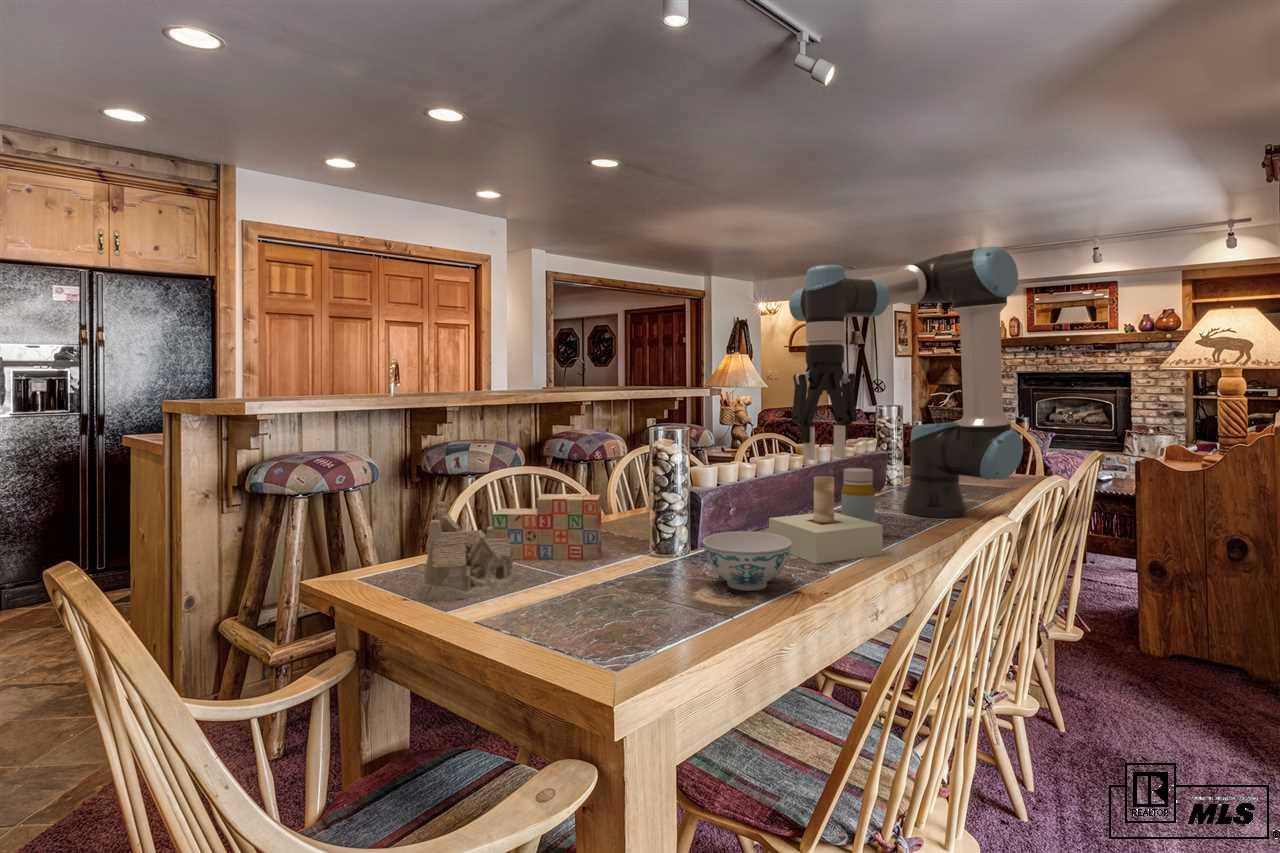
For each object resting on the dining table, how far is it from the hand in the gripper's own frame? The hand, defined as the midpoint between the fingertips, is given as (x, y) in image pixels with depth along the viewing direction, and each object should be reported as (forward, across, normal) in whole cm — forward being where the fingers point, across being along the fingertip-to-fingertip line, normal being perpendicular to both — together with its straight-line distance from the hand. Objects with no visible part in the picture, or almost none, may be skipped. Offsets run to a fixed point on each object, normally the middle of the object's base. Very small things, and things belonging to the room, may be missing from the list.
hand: (824, 457), depth 146 cm
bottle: (+19, -14, -7) cm, 25 cm away
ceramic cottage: (+19, +71, -6) cm, 74 cm away
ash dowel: (+18, 0, 0) cm, 18 cm away
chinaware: (+19, +27, +14) cm, 36 cm away
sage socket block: (+19, 0, 0) cm, 19 cm away
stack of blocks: (+19, +52, -22) cm, 60 cm away
